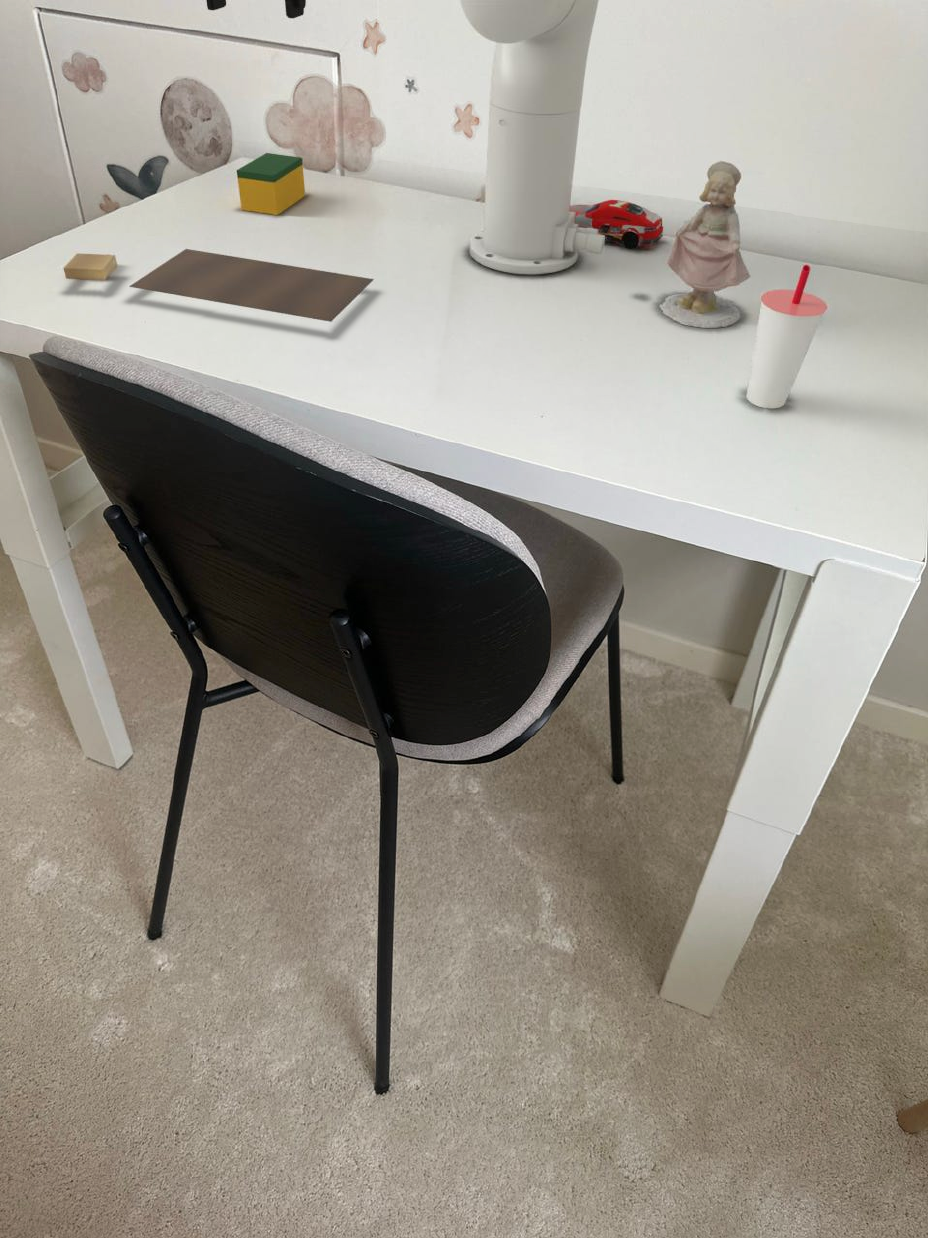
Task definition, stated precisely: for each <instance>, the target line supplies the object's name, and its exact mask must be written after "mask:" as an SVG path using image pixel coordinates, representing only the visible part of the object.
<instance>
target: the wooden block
mask: <svg viewBox="0 0 928 1238" xmlns="http://www.w3.org/2000/svg"><path fill="white" fill-rule="evenodd" d="M117 261H118V260H117V258H116V255H115V254H100V253H99V254H98V253H79V252H78V253H76V254H75V255H74V256H73V257H72V258H71V259H70V260H69V261H68V263H67V264H66V265H64V267H63V273H64V276H65V279H72V280H73V279H76V280H93V281H95V280H96V281H106V280H107V278H108V277H109V276H110V275H111V274H112V272H113V271H114V270H115V269H116V267H118V262H117Z"/></svg>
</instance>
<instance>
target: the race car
mask: <svg viewBox="0 0 928 1238" xmlns="http://www.w3.org/2000/svg"><path fill="white" fill-rule="evenodd" d="M569 211H571V212H575V221H574V224H578V227H582V228H593V229H598V235H605V242H610V243H611V242H612V243H617V244H622V245H623V246H624V247H625V248H626V249H631V250H632V249H634V248H636V247H637V246H638V247H648V246H654V245H655V244H656V245H657V244H658V243H659V242H660V241H661V239H662V238H663V236H664V235H663V231H664V226H663V217H662V216H660V215H659V214H657V213H654V212H652V211H650V210H649V209H647V208H645V207H644V206H641V205H638V204H636V203H632V202H629V201H625V200H618V199H607V200H604V201H601V202H597V203H595V204H574V205H570V210H569Z"/></svg>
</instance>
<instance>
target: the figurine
mask: <svg viewBox="0 0 928 1238" xmlns="http://www.w3.org/2000/svg"><path fill="white" fill-rule="evenodd" d="M706 173H707V174H706V177H707V179H708V180H707V182H706V183H705V185H704V186H705V187H704V189H703V191H702V193H701V194H700V195H699V197H698V198H699V201H700V202H703V203H706V202H707V203H706V204H704V205H702V206H701V208H699V209H698V210H697V212H696V213H695V215H694V216H693V217H691V218H690V219H688V220H685V221H683V224H682V227H679V228H678V229H677V230H676V232H675V240H674V243H673V247H672V249H671V253H670V254H669V258H668V260H667V265H668V268H670V269H671V270H672V271H673V272H674V273H675V274H676V275H677V276H678V277H679V278H680V279H681V281H683V282H684V283H685V284H686V285H687V286H689V287H691V288H692V291H689V292H686V293H675V294H671V295H669V296H666V298H664V300H665V301H663V302H662V303H661V304H659V308H660V310H661V311H662V313H663V315H665V316H666V317H668V318H670V319H672V320H673V321H675V322H678V323H679V324H681V325H685V326H691V327H693V328H701V329H703V328H704V329H719V328H721V327H722V328H726V327H728V326H732V325H734V324H735V323H737V322H738V321H739V320H740V318H741V312H740V310H739V309H738V308H737V307H736V306H735V304H734V303H733V302H731V301H730V300H728V299H724V298H722V297H720V296H717V295H716V293H715V292H719V291H722V290H725V289H727V288H730V287H732V288H733V287H736V286H740V284H742V283H744V282H745V281H747V280H749V279H750V278H751V274H750V273H749V270H748V268H747V266H746V264H745V262H744V259H743V257H742V253H741V251H740V247H741V246H740V244H741V229H740V228H741V225H740V224H741V223H740V219H739V214H738V212H737V211H736V208H735V207H736V206H735V205H736V202H737V201H736V199H735V194H736V193H737V185H738V184H739V183H740V181H741V179H742V173H741V172H740V169H739V168H737V166H736V165H734V164H733V163H731V162H727V161H723V160H719V161H717V162H714V163H713V164H711V165H710V167H708V169H707V172H706ZM638 297H642V295H641V294H639V295H638Z"/></svg>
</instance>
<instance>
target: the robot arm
mask: <svg viewBox="0 0 928 1238" xmlns="http://www.w3.org/2000/svg"><path fill="white" fill-rule="evenodd" d="M205 1H206V8H207V10H208V11H217V10H219V9H222V8H225V7H226V6H227V0H205ZM459 1H460V4H461V7H462V10H463V13H464V16H465V18H466V20H467V21H468V22H469V24H470V25H471V26H472V28H473V29H474V30H475V31H476V32H477V33H478V34H479V35H480V36H481V37H483V38H485V39H487V40H489V41H491V42H494V43H495V45H494V46H495V47H494V52H493V59H492V68H491V76H490V94H489V98H490V99H489V108H488V109H489V110H488V127H487V128H488V129H487V149H486V151H487V152H486V153H487V154H486V169H485V170H486V171H485V172H486V173H485V174H486V175H485V191H484V193H485V194H484V211H483V212H484V216H483V230H481V231H479V232H477V233H476V234H474V235H473V236H471V239H470V240H469V245H468V247H469V248H468V249H469V254H470V257H471V258H472V259H473V260H474V261H476V262H477V263H478V264H480V265H481V266H484V267H487V268H489V269H492V270H495V271H499V272H503V273H509V274H515V275H546V274H553V273H557V272H561V271H563V270H567V269H568V268H570V267H572V266H573V265H574V264H575V263H576V262H577V261H578V259H579V252H580V251H585V252H586V253H593V254H600V255H602V254H603V252H604V248H605V243H606V241H605V235H598V229H593V228H582V227H578V224H574V221H575V212H571V211H569V210H570V206H571V201H572V192H573V182H574V171H575V165H576V164H575V163H576V155H577V146H578V145H577V144H578V137H579V126H580V117H581V109H582V102H583V95H584V94H583V93H584V85H585V77H586V69H587V61H588V54H589V49H590V43H591V40H592V39H591V38H592V34H593V28H594V24H595V20H596V15H597V10H598V6H599V1H600V0H459ZM284 5H285V6H284V7H285V16H286V17H287V18H288V19H295V18H299V17H301V16H303V15H305V14H304V13H305V10H304V9H305V8H306V6H307V0H284Z"/></svg>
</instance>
